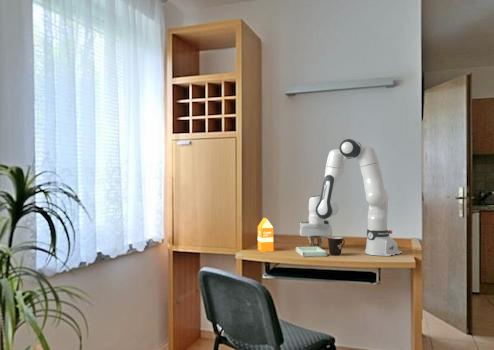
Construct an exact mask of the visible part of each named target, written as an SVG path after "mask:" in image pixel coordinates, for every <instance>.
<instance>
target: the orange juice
mask: <svg viewBox="0 0 494 350" xmlns="http://www.w3.org/2000/svg"><path fill="white" fill-rule="evenodd" d="M259 250H260V251H259ZM257 251H259V252H260V253H267V252H266V251H273V252H274V227H273V225H272V224H271V222H270V221H269V219H268V218H266V217H263V218H262V220H261V221H260V222H259V224H258V225H257Z"/></svg>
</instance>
